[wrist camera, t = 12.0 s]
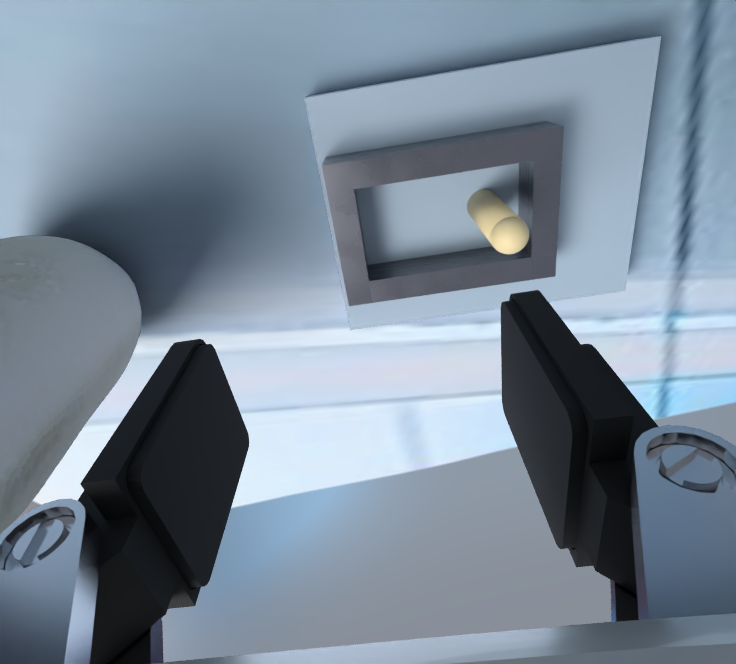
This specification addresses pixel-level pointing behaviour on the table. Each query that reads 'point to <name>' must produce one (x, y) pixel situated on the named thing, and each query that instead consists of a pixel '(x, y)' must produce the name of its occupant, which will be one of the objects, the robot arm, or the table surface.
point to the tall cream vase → (55, 354)
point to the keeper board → (500, 169)
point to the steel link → (442, 157)
